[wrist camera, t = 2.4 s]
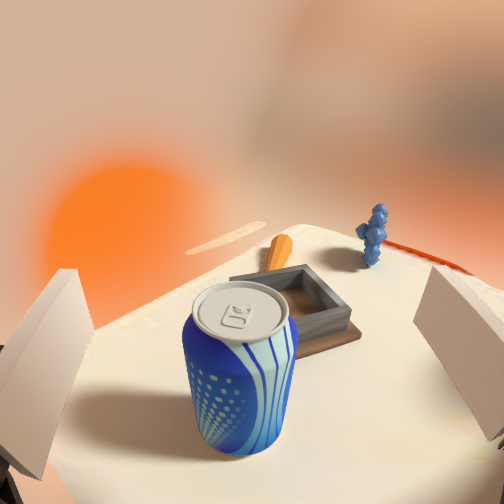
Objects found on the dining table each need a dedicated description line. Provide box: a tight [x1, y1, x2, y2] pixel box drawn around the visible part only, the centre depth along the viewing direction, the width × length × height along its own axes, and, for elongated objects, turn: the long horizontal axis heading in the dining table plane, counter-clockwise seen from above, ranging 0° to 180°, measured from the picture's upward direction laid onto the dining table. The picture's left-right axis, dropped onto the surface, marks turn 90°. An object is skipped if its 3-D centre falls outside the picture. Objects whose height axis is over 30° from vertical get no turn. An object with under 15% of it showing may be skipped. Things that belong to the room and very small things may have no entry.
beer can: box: [182, 281, 298, 456], centre depth 25 cm, size 8×8×16 cm
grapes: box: [356, 203, 388, 266], centre depth 59 cm, size 12×7×12 cm, turn 155°
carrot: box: [266, 234, 293, 271], centre depth 56 cm, size 20×4×4 cm, turn 165°
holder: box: [229, 264, 362, 360], centre depth 43 cm, size 16×16×4 cm
